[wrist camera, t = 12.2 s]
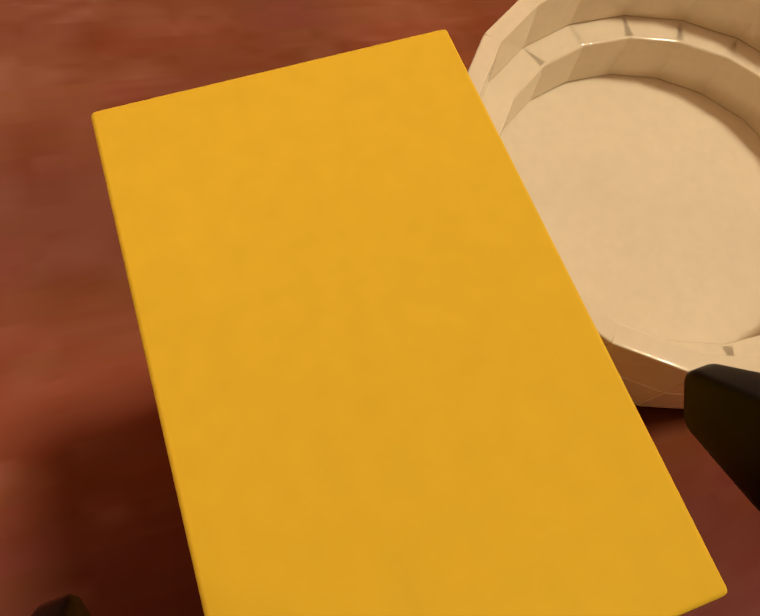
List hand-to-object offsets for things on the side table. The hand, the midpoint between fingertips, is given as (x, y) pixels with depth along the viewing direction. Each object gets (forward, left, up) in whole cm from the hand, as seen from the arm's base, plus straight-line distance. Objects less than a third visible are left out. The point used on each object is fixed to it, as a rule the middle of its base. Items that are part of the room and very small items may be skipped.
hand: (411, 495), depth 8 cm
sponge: (+1, -1, -9) cm, 9 cm away
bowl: (-1, -14, -9) cm, 16 cm away
